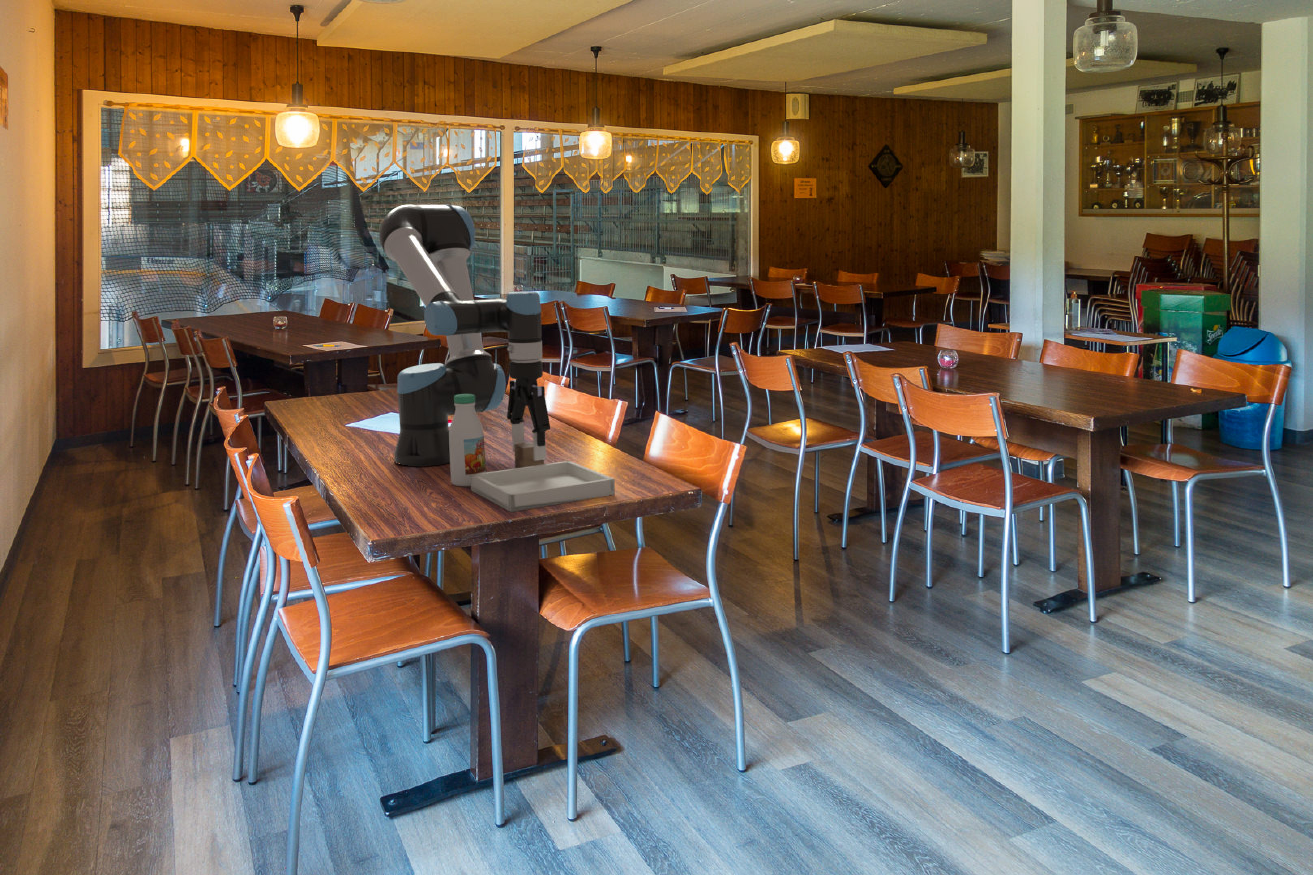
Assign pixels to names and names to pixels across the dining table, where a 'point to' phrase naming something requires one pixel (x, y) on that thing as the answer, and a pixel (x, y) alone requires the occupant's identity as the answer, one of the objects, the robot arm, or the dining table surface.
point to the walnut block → (525, 455)
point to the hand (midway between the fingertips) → (529, 455)
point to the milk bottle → (466, 442)
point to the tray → (541, 485)
